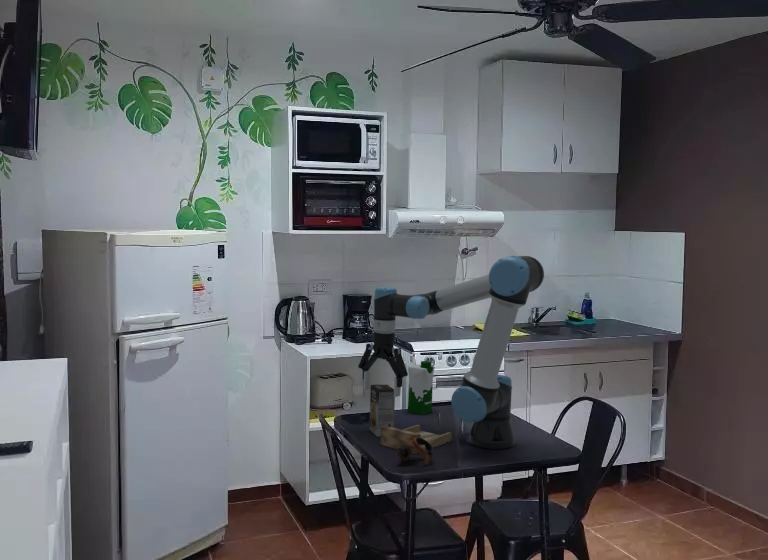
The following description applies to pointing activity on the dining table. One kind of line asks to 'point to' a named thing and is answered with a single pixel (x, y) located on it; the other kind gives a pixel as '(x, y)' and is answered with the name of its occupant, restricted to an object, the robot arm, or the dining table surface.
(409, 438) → the holder
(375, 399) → the coffee box
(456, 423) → the dining table surface
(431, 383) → the milk carton
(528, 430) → the dining table surface
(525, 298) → the robot arm
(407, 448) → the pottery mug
